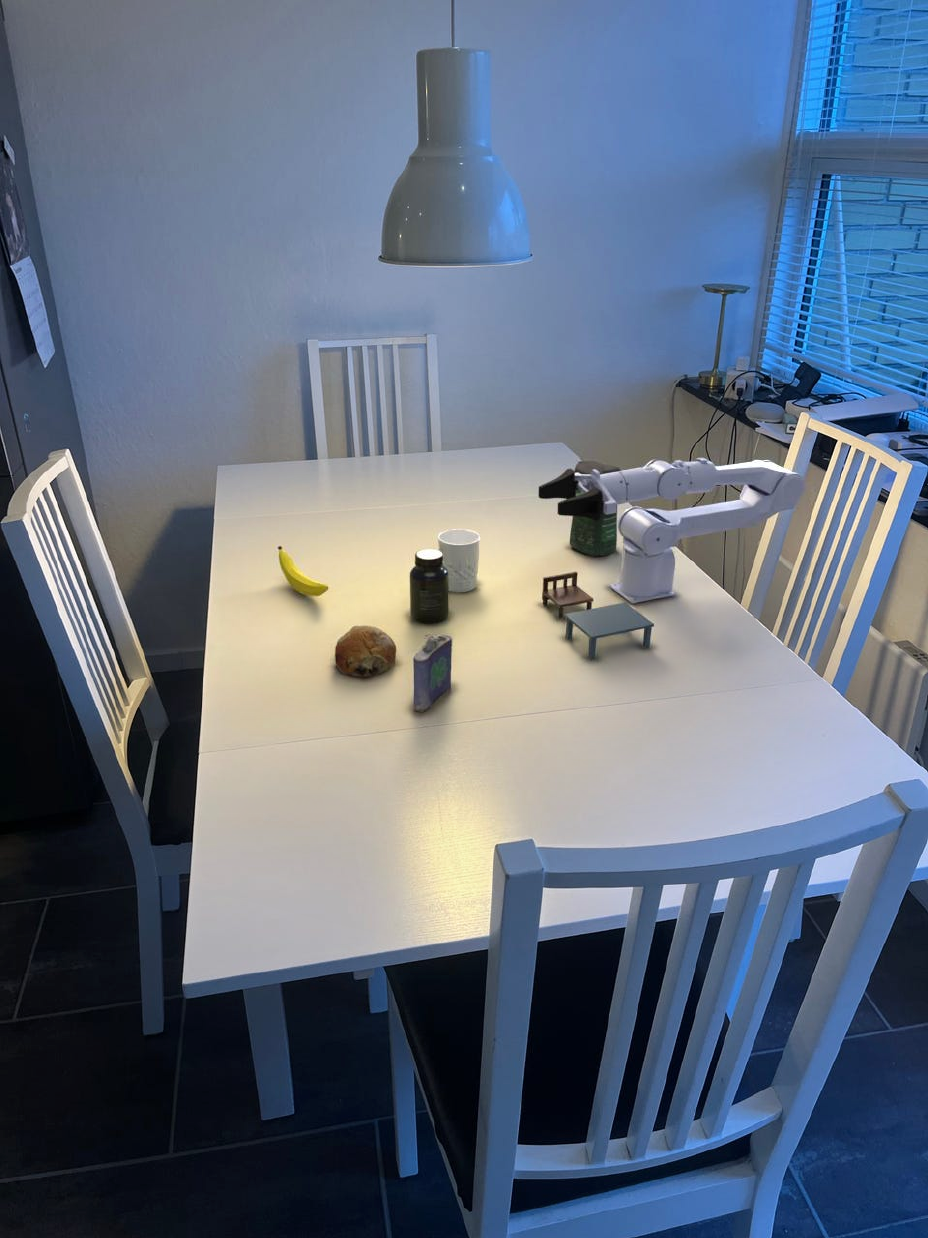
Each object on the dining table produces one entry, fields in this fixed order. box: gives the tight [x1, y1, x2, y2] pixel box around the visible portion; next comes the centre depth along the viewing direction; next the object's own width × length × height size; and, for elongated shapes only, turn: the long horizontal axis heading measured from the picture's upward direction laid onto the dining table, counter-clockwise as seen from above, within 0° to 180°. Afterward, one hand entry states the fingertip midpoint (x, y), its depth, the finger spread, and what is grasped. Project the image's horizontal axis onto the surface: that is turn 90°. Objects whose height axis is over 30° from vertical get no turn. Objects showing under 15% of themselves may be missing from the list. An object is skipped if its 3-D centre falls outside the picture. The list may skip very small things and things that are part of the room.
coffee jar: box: [569, 458, 622, 557], centre depth 195 cm, size 10×8×19 cm
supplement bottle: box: [409, 548, 450, 625], centre depth 168 cm, size 7×7×12 cm
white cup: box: [437, 528, 481, 593], centre depth 180 cm, size 8×8×10 cm
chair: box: [541, 571, 594, 620], centre depth 173 cm, size 7×7×6 cm
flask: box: [412, 633, 453, 713], centre depth 143 cm, size 9×3×11 cm, turn 151°
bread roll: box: [334, 625, 397, 678], centre depth 154 cm, size 10×10×8 cm
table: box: [564, 602, 655, 661], centre depth 161 cm, size 12×9×4 cm
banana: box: [277, 545, 329, 597], centre depth 177 cm, size 3×19×6 cm, turn 36°
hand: (548, 500), depth 165 cm, fingers open, 7 cm apart
